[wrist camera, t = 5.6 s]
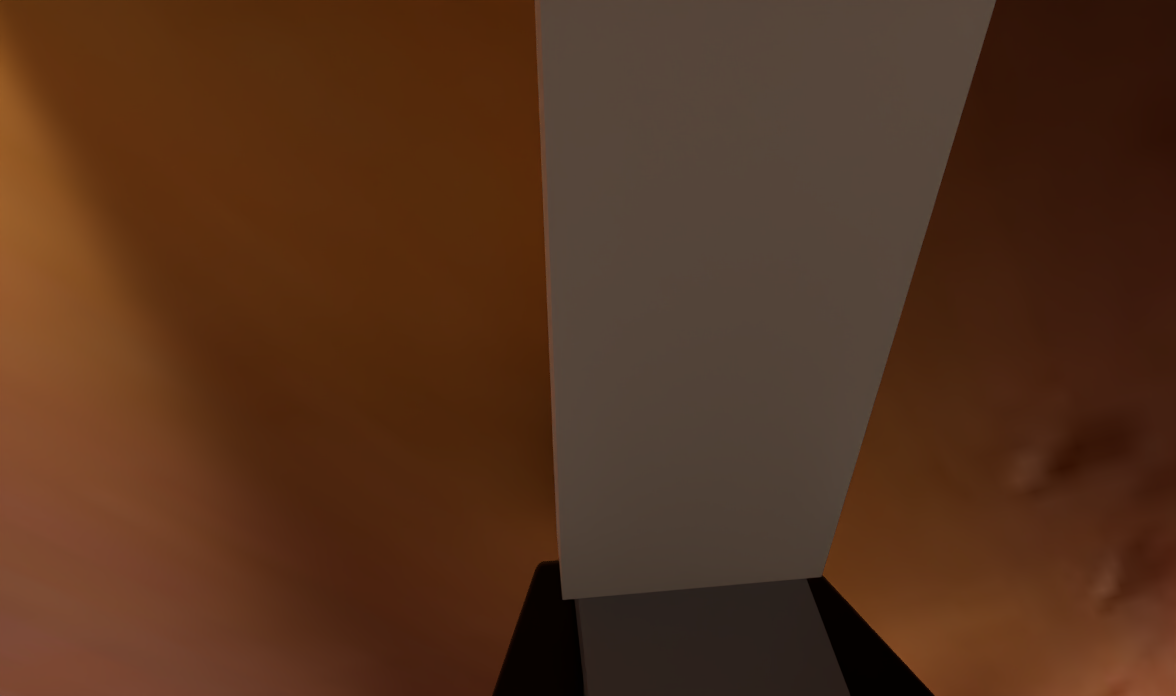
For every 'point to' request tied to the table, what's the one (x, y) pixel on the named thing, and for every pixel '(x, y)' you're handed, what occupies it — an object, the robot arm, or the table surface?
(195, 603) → the table surface
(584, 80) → the grey mallet
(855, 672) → the robot arm
